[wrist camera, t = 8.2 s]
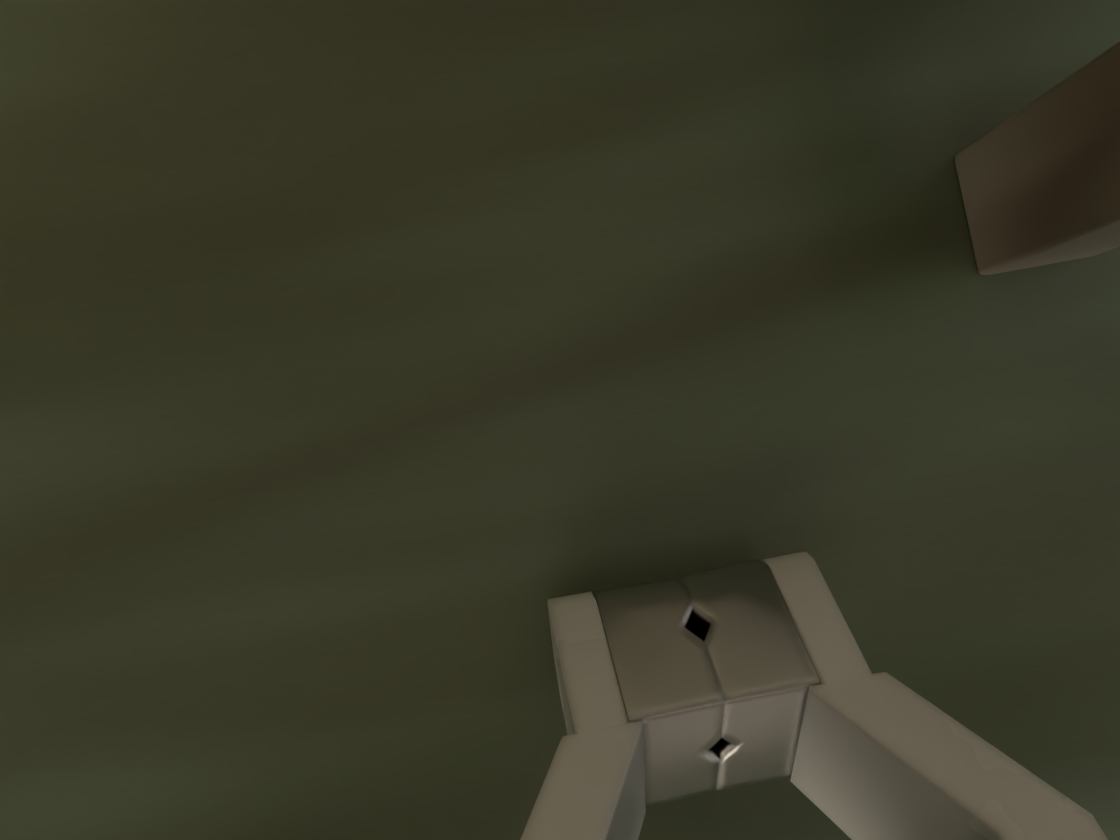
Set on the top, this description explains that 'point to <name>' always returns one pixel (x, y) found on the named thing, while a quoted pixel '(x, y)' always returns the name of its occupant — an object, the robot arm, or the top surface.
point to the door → (536, 385)
